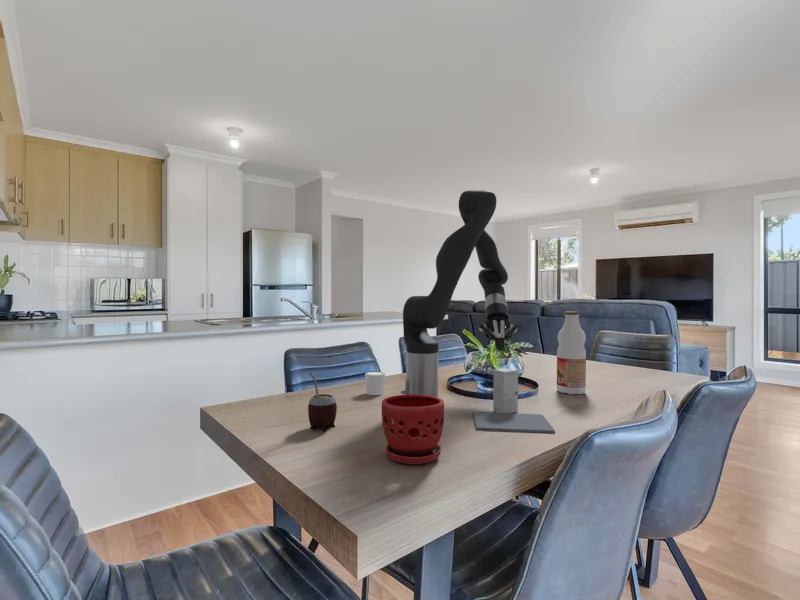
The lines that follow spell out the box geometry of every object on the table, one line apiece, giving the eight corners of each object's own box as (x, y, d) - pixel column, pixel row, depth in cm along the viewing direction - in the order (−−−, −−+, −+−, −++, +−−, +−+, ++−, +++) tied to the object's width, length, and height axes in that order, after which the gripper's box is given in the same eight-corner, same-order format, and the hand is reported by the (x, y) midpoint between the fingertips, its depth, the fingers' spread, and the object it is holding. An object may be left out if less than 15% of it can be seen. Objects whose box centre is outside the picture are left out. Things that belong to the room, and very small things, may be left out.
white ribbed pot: (389, 393, 145) (389, 372, 145) (377, 397, 139) (377, 376, 139) (372, 390, 149) (372, 370, 149) (360, 394, 143) (360, 373, 143)
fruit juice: (580, 396, 142) (581, 312, 142) (552, 392, 148) (553, 311, 148) (589, 391, 149) (590, 311, 149) (562, 387, 155) (563, 310, 155)
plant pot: (456, 455, 90) (456, 398, 90) (416, 475, 80) (416, 411, 80) (409, 440, 99) (409, 389, 99) (368, 456, 89) (368, 399, 89)
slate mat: (476, 429, 107) (476, 427, 107) (473, 414, 121) (473, 411, 121) (554, 433, 105) (554, 430, 105) (542, 416, 119) (542, 414, 119)
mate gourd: (333, 422, 112) (333, 365, 112) (340, 431, 105) (340, 370, 105) (304, 425, 110) (304, 367, 109) (309, 435, 102) (309, 372, 102)
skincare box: (503, 415, 120) (504, 372, 120) (492, 411, 124) (492, 369, 124) (518, 411, 124) (519, 369, 123) (507, 408, 127) (507, 367, 127)
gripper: (477, 301, 146) (480, 341, 134) (517, 302, 144) (523, 342, 132) (476, 316, 151) (478, 356, 139) (514, 316, 149) (520, 357, 138)
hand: (500, 349), depth 136 cm, fingers closed
